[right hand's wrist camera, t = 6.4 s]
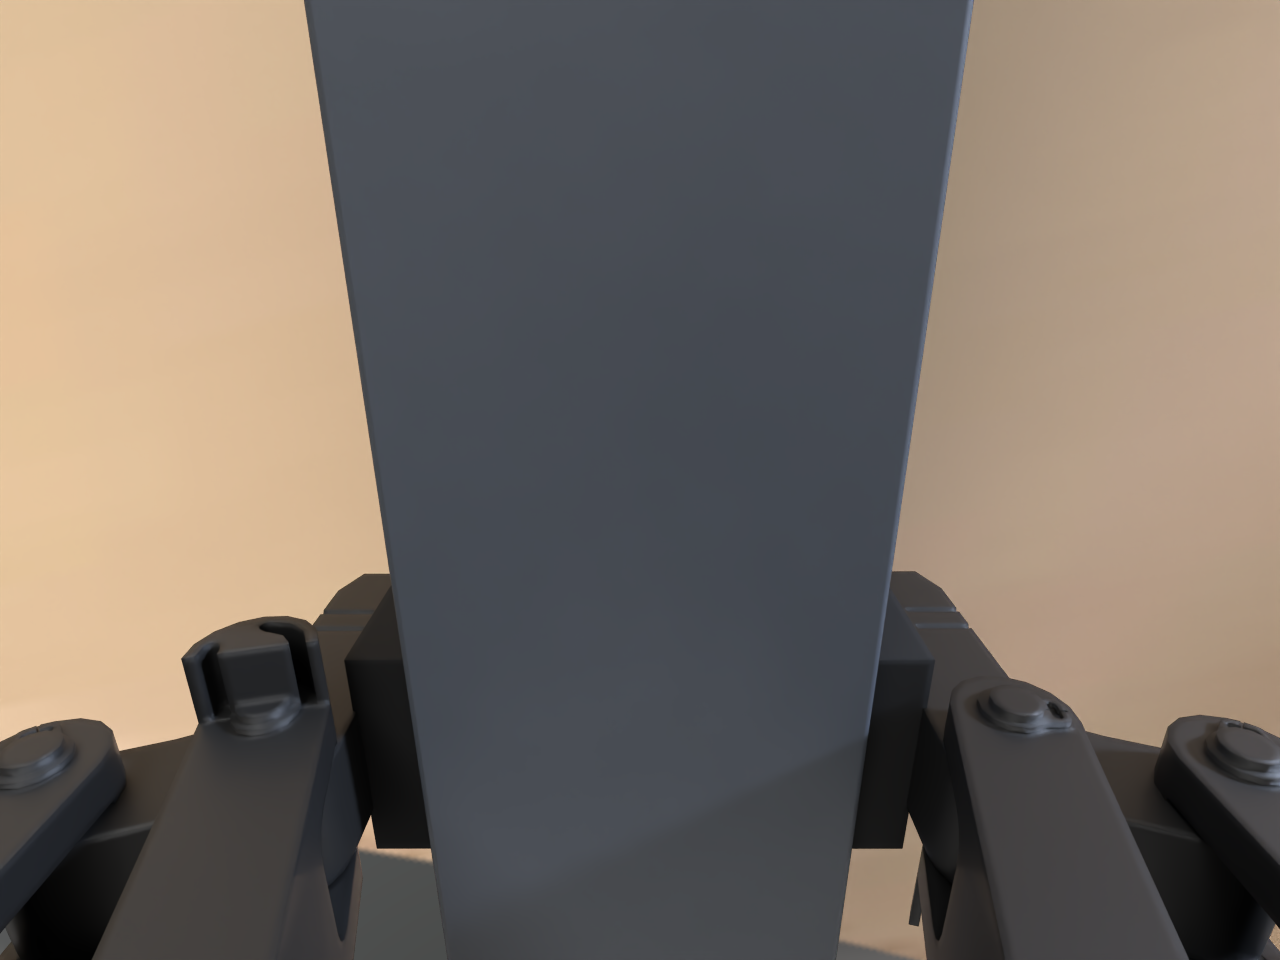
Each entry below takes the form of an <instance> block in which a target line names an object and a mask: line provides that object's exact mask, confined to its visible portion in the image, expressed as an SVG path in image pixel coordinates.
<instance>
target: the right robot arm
mask: <svg viewBox="0 0 1280 960" xmlns="http://www.w3.org/2000/svg"><path fill="white" fill-rule="evenodd" d="M181 660H182V663H183V667H184V671H185V675H186V678H187V682H188V686H189V689H190V693H191V697H192V700H193V704H194V708H195V711H196V715H197V719H198V723H199V724H198V726H197V728H196V731H195V733H194V735H190V736H187V737H183V738H179V739H175V740H170V741H166V742H161V743H156V744H151V745H147V746H142V747H137V748H132V749H127V750H123V751H119V749H118V746H117V743H116V740H115V737H114V734H113V731H112V730H111V729H110V728H109V727H108V726H106V725H105V724H104V723H103V722H101V721H96V720H89V719H82V718H79V719H71V720H63V721H54V722H50V723H46V724H41V725H40V726H38V727H37V726H35V727H32V728H29V729H26V730H23V731H21V732H19V733H17V734H16V735H14V736H12V737H10V738H7V739H5V740H3V741H1V742H0V933H1V932H2V931H3V929H4V928H6V930H7V933H8V935H9V937H10V939H11V943H10V944H9V945H8V947H7V948H6V949H5V950H4V951H3V952H2V954H1V955H0V960H353V959H354V950H355V941H356V933H357V924H358V915H359V906H360V897H361V888H362V879H363V877H362V870H361V863H360V857H359V852H358V847H357V846H358V844H359V841H360V839H361V837H362V834H363V832H364V830H365V827H366V825H367V823H368V820H369V818H370V816H371V817H372V823H373V829H374V835H375V840H376V846H377V849H417V848H431V845H430V839H429V832H428V825H427V818H426V812H425V805H424V798H423V792H422V785H421V778H420V772H419V765H418V758H417V752H416V745H415V738H414V732H413V725H412V718H411V712H410V705H409V698H408V692H407V685H406V678H405V672H404V665H403V658H402V652H401V645H400V638H399V631H398V625H397V618H396V611H395V605H394V598H393V591H392V585H391V578H390V574H363V575H362V576H360V577H359V578H357V579H356V580H354V581H353V582H351V583H350V584H348V585H347V586H345V587H343V588H342V589H340V590H339V591H338V592H337V593H336V595H335V596H334V597H333V599H332V600H331V601H330V603H329V604H328V605H327V607H326V608H325V609H324V613H323V614H321V615H320V616H319V617H318V619H317V620H316V621H315V623H314V624H313V625H311V624H310V623H309V622H307V621H306V620H302V619H298V618H294V617H289V616H275V617H261V618H256V619H251V620H247V621H242V622H238V623H235V624H233V625H230V626H228V627H225V628H222V629H220V630H217V631H215V632H213V633H211V634H210V635H208V636H207V637H205V638H203V639H202V640H200V641H199V642H197V643H195V644H194V645H193V646H192V647H191V648H190V649H189V651H188V652H187V653H186V654H185V655H184V656H183V657H182V658H181ZM909 813H910V816H911V818H912V820H913V823H914V825H915V827H916V830H917V832H918V834H919V837H920V839H921V841H922V844H923V847H922V852H921V857H920V863H919V868H918V873H917V879H916V884H915V889H914V895H913V900H912V905H911V911H910V918H909V924H910V925H914V926H919V922H920V916H921V913H922V922H923V931H924V940H925V948H926V957H927V960H1280V951H1279V950H1278V949H1277V948H1276V946H1275V945H1274V944H1273V943H1272V942H1271V940H1270V939H1269V937H1270V935H1271V933H1272V930H1273V928H1274V926H1275V924H1276V925H1277V926H1278V927H1279V928H1280V738H1278V737H1276V736H1274V735H1272V734H1270V733H1268V732H1266V731H1264V730H1262V729H1261V728H1259V727H1256V726H1253V725H1250V724H1247V723H1241V722H1240V721H1237V720H1232V719H1228V718H1221V717H1213V716H1205V715H1195V716H1189V717H1182V718H1178V719H1177V720H1176V721H1175V722H1173V723H1172V724H1171V725H1170V726H1168V728H1167V731H1166V734H1165V738H1164V741H1163V744H1162V747H1161V748H1159V747H1154V746H1149V745H1144V744H1139V743H1135V742H1130V741H1125V740H1120V739H1115V738H1110V737H1106V736H1101V735H1098V734H1094V733H1090V732H1087V731H1085V729H1084V727H1083V725H1082V723H1081V721H1080V720H1079V719H1078V717H1077V716H1076V715H1075V713H1074V712H1073V711H1072V709H1071V708H1070V707H1069V706H1068V705H1066V704H1065V703H1064V702H1062V701H1061V700H1059V699H1058V698H1057V697H1055V696H1054V695H1053V694H1051V693H1049V692H1047V691H1045V690H1043V689H1040V688H1038V687H1036V686H1034V685H1031V684H1029V683H1027V682H1023V681H1019V680H1014V679H1010V678H1009V677H1008V676H1007V675H1006V673H1005V672H1004V671H1003V669H1002V668H1001V667H1000V665H999V664H998V663H997V661H996V660H995V659H994V657H993V656H992V655H991V653H990V652H989V651H988V649H987V648H986V647H985V645H984V644H983V643H982V641H981V640H980V639H979V638H978V636H977V635H976V634H975V632H974V631H973V630H972V628H969V627H968V623H967V622H966V620H965V619H964V618H963V616H962V615H961V614H960V612H956V607H955V606H954V604H953V603H952V602H951V601H950V599H949V598H948V597H947V595H946V594H945V593H944V591H943V590H942V589H941V588H940V587H938V586H937V585H935V584H934V583H932V582H931V581H929V580H928V579H926V578H925V577H923V576H921V575H920V574H918V573H917V572H892V573H891V580H890V587H889V594H888V601H887V607H886V614H885V621H884V628H883V635H882V642H881V649H880V656H879V663H878V670H877V677H876V684H875V691H874V698H873V705H872V712H871V719H870V726H869V733H868V740H867V747H866V754H865V761H864V767H863V774H862V781H861V788H860V795H859V802H858V809H857V816H856V823H855V830H854V837H853V844H852V849H902V848H903V842H904V837H905V831H906V825H907V819H908V814H909Z"/></svg>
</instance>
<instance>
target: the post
mask: <svg viewBox="0 0 1280 960" xmlns="http://www.w3.org/2000/svg"><path fill="white" fill-rule="evenodd" d="M973 2H974V0H304V4H305V10H306V17H307V24H308V30H309V37H310V44H311V51H312V57H313V64H314V71H315V77H316V84H317V91H318V97H319V104H320V111H321V117H322V124H323V131H324V137H325V144H326V151H327V157H328V164H329V171H330V177H331V184H332V191H333V197H334V204H335V211H336V217H337V224H338V231H339V237H340V244H341V251H342V258H343V264H344V271H345V278H346V284H347V291H348V298H349V304H350V311H351V318H352V324H353V331H354V338H355V344H356V351H357V358H358V364H359V371H360V378H361V384H362V391H363V398H364V404H365V411H366V418H367V424H368V431H369V438H370V445H371V451H372V458H373V465H374V471H375V478H376V485H377V491H378V498H379V505H380V511H381V518H382V525H383V531H384V538H385V545H386V551H387V558H388V565H389V571H390V578H391V585H392V591H393V598H394V605H395V611H396V618H397V625H398V631H399V638H400V645H401V652H402V658H403V665H404V672H405V678H406V685H407V692H408V698H409V705H410V712H411V718H412V725H413V732H414V738H415V745H416V752H417V758H418V765H419V772H420V778H421V785H422V792H423V798H424V805H425V812H426V818H427V825H428V832H429V839H430V845H431V852H432V859H433V865H434V872H435V878H436V885H437V892H438V899H439V905H440V912H441V919H442V925H443V932H444V939H445V945H446V952H447V959H448V960H836V955H837V948H838V941H839V934H840V927H841V920H842V914H843V907H844V900H845V893H846V886H847V879H848V872H849V865H850V858H851V851H852V844H853V837H854V830H855V823H856V816H857V809H858V802H859V795H860V788H861V781H862V774H863V767H864V761H865V754H866V747H867V740H868V733H869V726H870V719H871V712H872V705H873V698H874V691H875V684H876V677H877V670H878V663H879V656H880V649H881V642H882V635H883V628H884V621H885V614H886V607H887V601H888V594H889V587H890V580H891V573H892V566H893V559H894V552H895V545H896V538H897V531H898V524H899V517H900V510H901V503H902V496H903V489H904V482H905V475H906V468H907V461H908V454H909V448H910V441H911V434H912V427H913V420H914V413H915V406H916V399H917V392H918V385H919V378H920V371H921V364H922V357H923V350H924V343H925V336H926V329H927V322H928V315H929V308H930V301H931V294H932V288H933V281H934V274H935V267H936V260H937V253H938V246H939V239H940V232H941V225H942V218H943V211H944V204H945V197H946V190H947V183H948V176H949V169H950V162H951V155H952V148H953V141H954V134H955V128H956V121H957V114H958V107H959V100H960V93H961V86H962V79H963V72H964V65H965V58H966V51H967V44H968V37H969V30H970V23H971V16H972V9H973Z"/></svg>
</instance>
